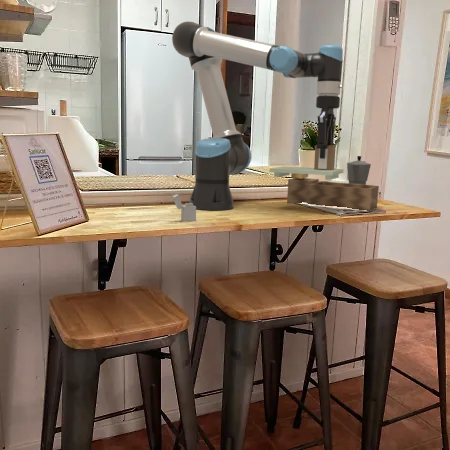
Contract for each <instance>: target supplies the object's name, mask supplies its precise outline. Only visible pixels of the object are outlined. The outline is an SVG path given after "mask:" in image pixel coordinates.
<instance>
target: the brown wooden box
mask: <svg viewBox="0 0 450 450" xmlns="http://www.w3.org/2000/svg"><path fill="white" fill-rule="evenodd" d="M287 181H288V182H287V194H286V195H287V196H286V198H287V199H286V203H287V204H291V203H302V202H307V203H308V204H316V205H325V206H337V207H347V208H352V209H359V210H367V211H370V210H372V209H374V208H375V209H376V208H378V200H379V199H378V198H379V188H380V187H379V185H374V184H366V185H363V184H349V182H348V183H347V182H346V183H345V182H336V181H335V182H333V181H322V180H321V181H320V179H319V178H309V177H307V178H303V179H298V178H287ZM375 209H374V210H375ZM372 211H373V210H372ZM370 212H371V211H370Z"/></svg>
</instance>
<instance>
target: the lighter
mask: <svg viewBox="0 0 450 450" xmlns="http://www.w3.org/2000/svg"><path fill="white" fill-rule="evenodd" d="M171 197H172V200H173V202H174V205H175V206H176V209H178V210H180V211H181V212H180V222H183V221H187V222H197V209H196V206H193V203H190V202H185V205H183V204H182V201H181V199H180V196H179V194H177V193H175V194H173V195H171Z"/></svg>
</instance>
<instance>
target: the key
mask: <svg viewBox="0 0 450 450" xmlns="http://www.w3.org/2000/svg"><path fill="white" fill-rule="evenodd" d="M290 175H291V178H290V179H292V178H298V179H303V178H309V174H294V173H290Z"/></svg>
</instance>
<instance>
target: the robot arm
mask: <svg viewBox="0 0 450 450" xmlns="http://www.w3.org/2000/svg"><path fill="white" fill-rule="evenodd" d="M171 40H172V41H171V42H172V46H173V48H174V49H175V51H176V52H177V53H178V54H179V55H181V56H182V57H185V58H188V60H189V63H190V64H189V65H190V67H191V70H193V71H194V72H196V74H197V78H198V81H199V86H200V90H201V93H202V98H203V101H204V106H205V109H206V113H207V117H208V121H209V125H210V128H211V129H210V130H211V133H212V137H211V138H203V139H200V140H198V141H197V142H196V145H195V152H194V153H195V167H194V168H195V170H194V171H195V178H194V179H195V180H194V183H195V184H194V186H193V191H192V193H191V196H190V200H189V203H193V206H196V210H202V211H203V210H204V211H205V210H206V211H226V210H231V209H234V199H233V195H232V191H231V187H230V175H236V174H240V173H242V172H244V171H245V170H247V168H249V166H250V164H251V162H252V152H251V149H250V147H249V146H248V144H246V143H245V142H244V139H243V134H242V132H240V131H238V130H237V129H236V125H235V121H234V117H233V113H232V109H231V106H230V101H229V98H228V93H227V89H226V86H225V82H224V78H223V74H222V71H221V64H222V62H223V60H226V61H231V62H236V63H239V64H243V65H248V66H252V67H257V68H262V69H264V70H265V69H266V70H270V71H273V72H278V73H280V74H282V75H283V77H284V78H287V79H289V78H291V79H296V78H297V79H299V78H300V79H301V78H317V83H316V95H317V97H316V100H315V101H316V102H315V108H317V109H320V110H321V111H320V113H319V115H317V139H316V140H317V142H316V143H317V144H316V145H317V148H320V149H319V160H318V169H327V155H328V149H327V145H330V146H334V141H335V140H334V137H335V127H336V126H335V125H336V119H337V117H336V116H335V114H334V110H335V109H339V108H340V103H341V98H340V96H339V95H341V89H343V85H342V72H343V63H344V60H343V57H344V55H343V51H344V49H343V47H342V46H340V45H337V44H324V45H320V47H319V48H318V49H319V50H318V52H312V53H310V52H309V53H303V52H300V51H297V50H295V49H294V48H292V47H290V46H285V45H277V44H276V45H275V44H272V43H268V42H267V43H266V42H264V41H258V40H254V39H249V38H245V37H244V38H243V37H239V36H234V35H230V34H225V33H220V32H217V31H215V29H213V28H211V27H208V26H204V25H201V24H199V23H196V22H194V21H183V22H180V24H178V25H176V27H175V28H174V30H173V33H172V36H171Z"/></svg>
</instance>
